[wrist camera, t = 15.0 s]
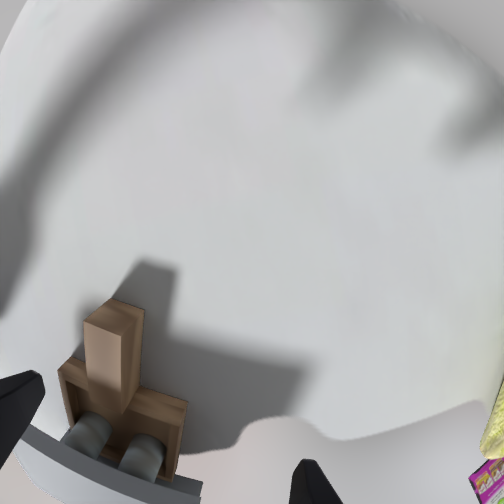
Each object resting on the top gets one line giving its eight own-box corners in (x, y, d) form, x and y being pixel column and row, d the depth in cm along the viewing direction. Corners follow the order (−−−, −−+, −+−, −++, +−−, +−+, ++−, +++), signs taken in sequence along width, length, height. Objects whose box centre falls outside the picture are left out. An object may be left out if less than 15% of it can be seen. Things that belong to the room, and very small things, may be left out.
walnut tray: (83, 429, 27) (63, 459, 21) (66, 281, 21) (24, 307, 16) (177, 466, 27) (164, 502, 21) (201, 327, 21) (180, 373, 16)
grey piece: (69, 434, 27) (34, 485, 18) (52, 364, 24) (-4, 420, 14) (202, 485, 27) (185, 550, 17) (218, 427, 24) (196, 517, 14)
